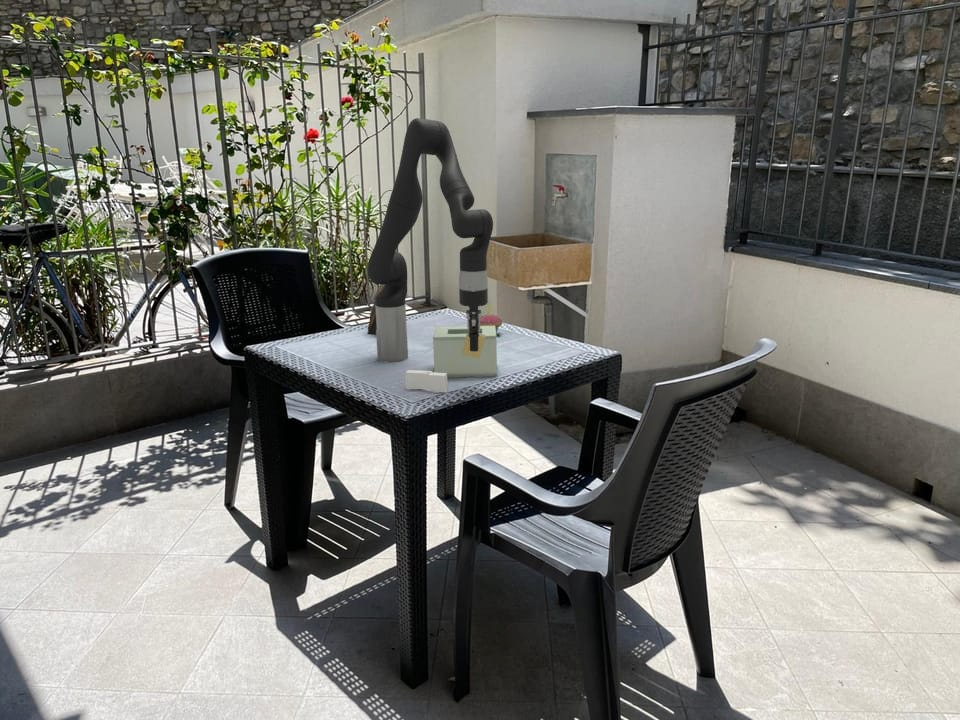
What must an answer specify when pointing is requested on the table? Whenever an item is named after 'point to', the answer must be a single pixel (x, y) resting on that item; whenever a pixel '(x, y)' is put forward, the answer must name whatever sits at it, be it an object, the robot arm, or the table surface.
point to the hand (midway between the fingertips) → (474, 349)
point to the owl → (374, 315)
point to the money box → (452, 359)
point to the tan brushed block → (467, 346)
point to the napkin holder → (426, 380)
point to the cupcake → (490, 320)
